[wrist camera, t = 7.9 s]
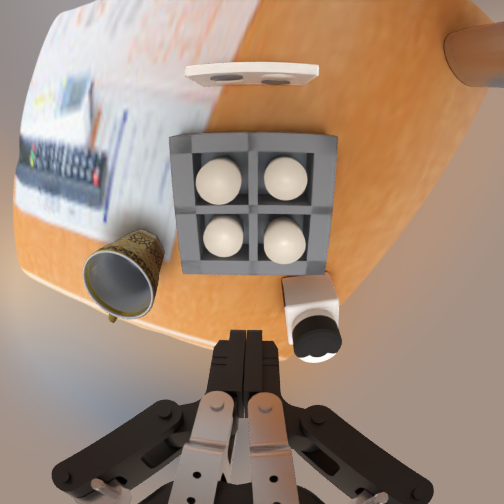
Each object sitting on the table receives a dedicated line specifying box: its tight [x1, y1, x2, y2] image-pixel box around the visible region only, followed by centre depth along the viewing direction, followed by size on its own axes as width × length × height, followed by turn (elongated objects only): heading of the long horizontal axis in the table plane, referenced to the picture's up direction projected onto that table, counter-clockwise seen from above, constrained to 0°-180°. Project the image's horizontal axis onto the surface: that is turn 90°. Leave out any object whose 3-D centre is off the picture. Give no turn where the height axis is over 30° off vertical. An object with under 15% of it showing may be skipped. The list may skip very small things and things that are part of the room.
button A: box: [264, 155, 307, 200], centre depth 30 cm, size 5×5×3 cm
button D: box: [203, 214, 244, 257], centre depth 33 cm, size 5×5×3 cm
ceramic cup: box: [83, 230, 164, 323], centre depth 35 cm, size 13×10×10 cm
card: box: [185, 62, 319, 87], centre depth 24 cm, size 12×1×9 cm, turn 90°
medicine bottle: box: [281, 272, 342, 363], centre depth 36 cm, size 7×7×12 cm
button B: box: [264, 217, 306, 264], centre depth 32 cm, size 5×5×3 cm
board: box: [169, 131, 338, 275], centre depth 33 cm, size 18×17×5 cm
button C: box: [196, 157, 242, 205], centre depth 29 cm, size 5×5×3 cm
